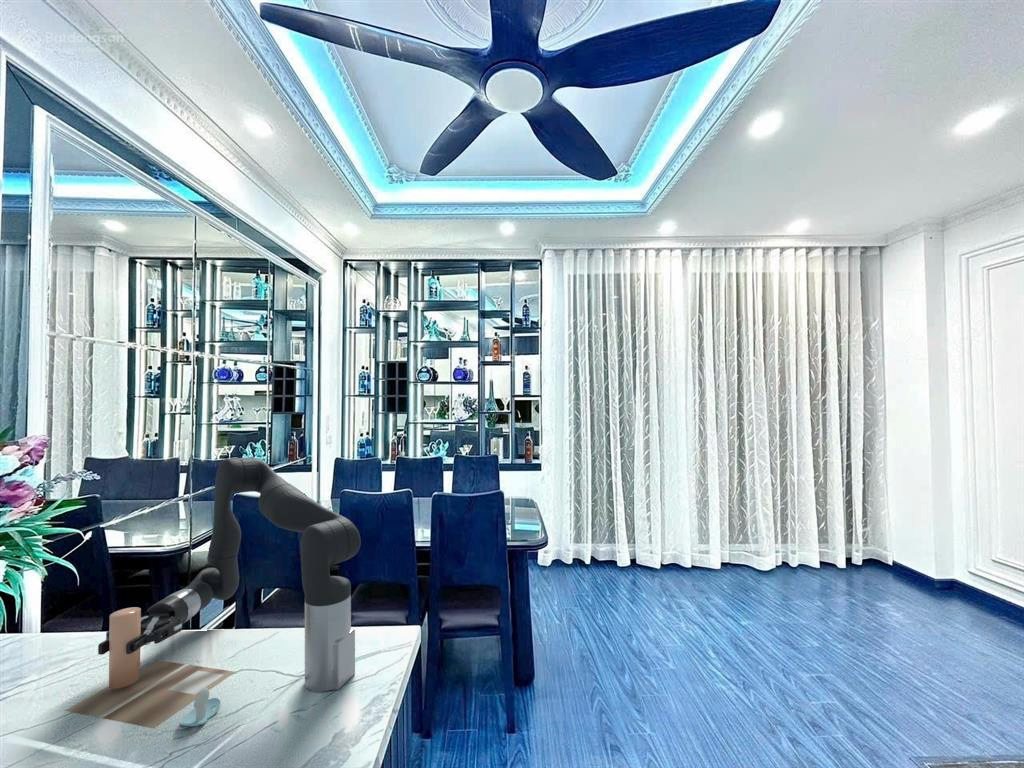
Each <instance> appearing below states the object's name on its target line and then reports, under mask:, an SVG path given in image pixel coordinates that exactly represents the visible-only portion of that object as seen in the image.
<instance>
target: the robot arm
mask: <svg viewBox="0 0 1024 768" xmlns="http://www.w3.org/2000/svg"><path fill="white" fill-rule="evenodd" d="M214 481H215V482H214V498H213V502H214V503H213V523H212V524H213V525H212V533H211V540H210V543H209V548H208V553H207V559H206V560H207V563H208V564H209V566H211V567H206V568H204V569H202V570H201V571H200V572H199V573H198V574H197V575H196V577H194V578H193V580H192V581H191V582H190V583H189V585H187V586H185V587H183V588H182V589H180V590H178V591H175V592H173V593H171V594H169V595H168V596H166V597H164V598H163V599H161V600H159V601H158V602H156V603H154V604H153V605H151V606H150V607H148V609H147V611H146V612H145V614H144V615H143V616H141V635H139V636H138V637H136V638H135V639H133V640H131V641H130V642H128V643H127V645H126V654H132V653H133V652H135V651H136V650H138V649H139V648H140V649H141V648H142V647H144V646H148V645H150V644H151V643H152V642H153V643H154V644H155V645H156V644H159V643H162V642H163V641H166V640H167V639H170V638H171V637H173V636H174V635H177V634H178V633H180V632H182V631H183V629H182V627H183V625H184V624H185V623H186V622H188V621H190V619H192V617H194V616H195V615H196V614H197V613H199V612H200V611H201V610H202V611H203V609H205V608H206V607H207V606H208V605H209V604H210V603H211V601H212V600H213V599H216V600H218V601H227V600H229V599H230V598H231V597H233V596H234V595H235V593H236V592H237V590H238V589H239V584H240V573H239V562H238V554H239V550H240V545H241V540H242V529H241V526H240V524H239V522H238V520H237V518H236V516H235V514H234V512H233V510H232V506H231V500H232V496H233V494H240V493H241V494H242V493H248V492H249V493H250V492H252V493H253V492H255V493H258V494H260V495H259V498H258V509H259V511H260V513H261V514H262V516H264V517H265V519H267V520H268V521H269V522H270V523H271V524H273V525H274V526H276V527H277V528H280V529H283V530H287V531H291V532H295V533H301V534H302V535H301V539H300V561H301V562H300V563H301V583H302V588H303V592H304V593H303V594H304V687H305V689H307V690H309V691H311V692H321V693H322V692H327V691H332V690H337V691H338V690H340V689H341V688H342V687H343V686H344V685H345V684H346V683H347V682H348V681H349V680H350V679H351V678H352V677H353V676H354V675H355V674H356V630H355V628H352V624H351V623H352V614H351V613H352V596H351V594H352V586H351V585H352V584H351V581H350V579H348V578H347V577H344V576H339V575H331V571H330V566H333V565H338V564H341V563H343V562H346V561H348V560H349V559H351V558H353V557H354V556H356V555H357V553H358V552H359V551H360V549H361V543H362V541H361V535H360V532H359V529H358V528H357V526H355V524H354V523H353V522H352V521H351V520H349V519H348V518H347V517H345V516H343V515H341V514H338V513H336V512H334V511H332V510H330V509H328V508H327V507H325V506H323V505H321V504H320V503H318V501H315V500H314V499H312V498H311V497H309V496H308V495H306V494H305V493H304V492H303V491H301V490H300V489H298V488H297V487H296V486H294V485H292V484H291V483H289V482H288V481H286V480H285V479H284V478H282V476H280V475H279V474H277V473H276V471H274V470H273V469H272V468H271V467H270V466H269V465H268V463H266V462H265V461H264V460H263V459H261V458H259V457H254V456H253V457H251V456H250V457H249V456H248V457H233V458H227V459H223V460H222V461H220V463H219V464H218V467H217V470H216V474H215V480H214ZM97 647H98V648H97V652H98V653H97V655H101V656H103V655H105V654H106V653H109V630H107V631H106V632H105V640H103V641H101V642H100V643H99V644H98V646H97Z"/></svg>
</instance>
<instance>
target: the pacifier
mask: <svg viewBox="0 0 1024 768" xmlns="http://www.w3.org/2000/svg"><path fill="white" fill-rule="evenodd" d="M220 707H221V700H220V699H219V698H218V697H212V698H210V690H208V689H207V688H203V689H202V690H201V691H200V692H199V693H198V695H197V697H196V699H195V700H194V701H193V709H192V710H190V711H189V712H188V713H187V714H186V715H184V716H183V717H182V718H181V719H179V720H178V722H177V723H176V725H175V729H176V730H181V731H182V730H185V729H188V728H190V727H195V726H196V727H197V726H201V725H204V724H206V723H207V721H208V720H209V719H211V718H212V717H213V716H215V715H216V714H217V712H218V711H219V710H220Z"/></svg>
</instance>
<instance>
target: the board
mask: <svg viewBox="0 0 1024 768" xmlns="http://www.w3.org/2000/svg"><path fill="white" fill-rule="evenodd" d="M235 673H236V671H234V670H226V669H219V668H212V667H206V666H201V665H194V664H188V663H182V662H181V663H180V662H173V661H169V660H168V661H167V660H162V659H155V660H153V661H151V662H150V663H147V664H146V665H144V666H142V667H140V678H139V679H138V680H137V681H136V682H134V683H133V684H131V685H128V686H125V687H122V688H116V689H112V688H109V685H108V686H107V687H105V688H102V689H101V690H99V691H97V692H96V693H94V694H92V695H90V696H89V697H86V698H85V699H83V700H81V701H80V702H77V703H75V704H74V705H71V706H70V707H69V708H66V709H65V710H64V712H70V713H74V714H78V715H79V714H80V715H84V716H89V717H95V718H99V719H103V720H109V721H114V722H119V723H124V724H130V725H133V726H138V727H139V726H140V727H145V728H149V729H156V728H157V727H159V726H160V725H162V724H163V723H165V722H166V721H167V720H168V719H170V718H171V717H173V716H174V715H175V714H177V713H179V712H180V711H181V710H184V708H186V707H187V706H188V705H190V704H191V703H194V701H195V699H196V697H197V695H198V693H199V692H200V691H201V690H202V689H203V688H207V689H208V690H209V691H211V689H213V688H214V687H216V686H217V685H219V684H220V683H221V682H223V681H225V680H227V678H229V677H231V675H233V674H235Z"/></svg>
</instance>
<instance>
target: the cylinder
mask: <svg viewBox="0 0 1024 768" xmlns="http://www.w3.org/2000/svg"><path fill="white" fill-rule="evenodd" d="M141 611H142V608H140V607H138V606H135V607H134V606H133V607H126V608H122V609H119V610H116V611H114V612H112V613H110V614H109V623H108V624H109V627H108V628H109V630H108V631H109V651H108V686H109V688H112V689H116V688H122V687H125V686H128V685H131V684H133V683H134V682H136V681H137V680H138V679H139V678H140V669H141V648H139V649H138V650H136V651H135V652H133V653H132V654H126V645H127V643H128V642H130V641H131V640H133V639H135V638H136V637H138V636H139V635H141V618H142V612H141Z"/></svg>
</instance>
